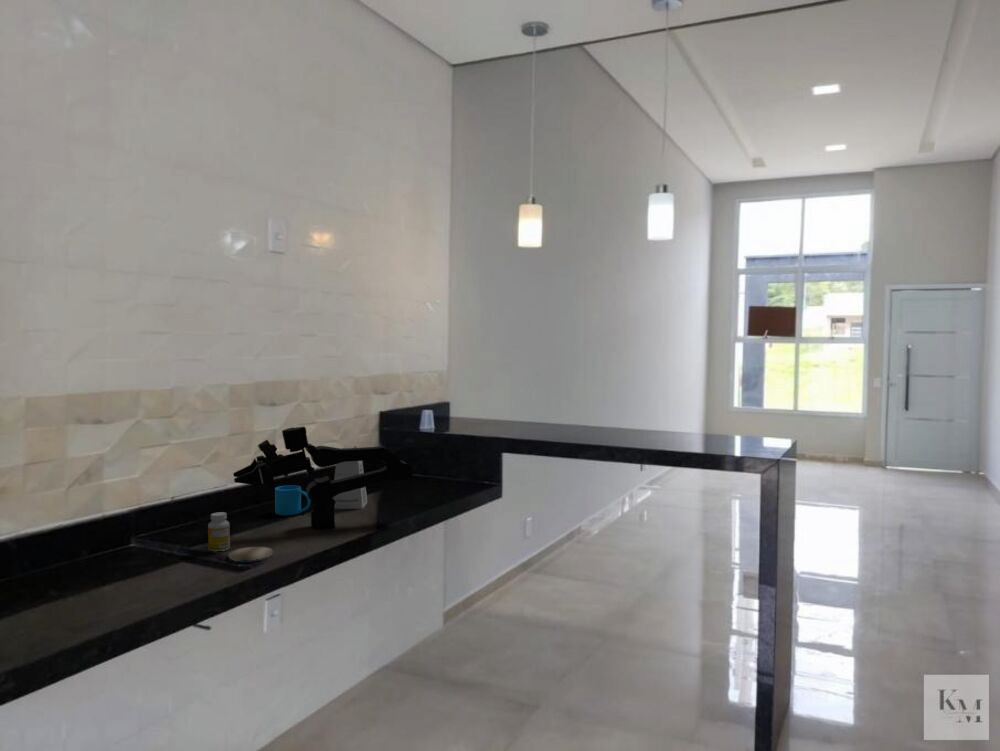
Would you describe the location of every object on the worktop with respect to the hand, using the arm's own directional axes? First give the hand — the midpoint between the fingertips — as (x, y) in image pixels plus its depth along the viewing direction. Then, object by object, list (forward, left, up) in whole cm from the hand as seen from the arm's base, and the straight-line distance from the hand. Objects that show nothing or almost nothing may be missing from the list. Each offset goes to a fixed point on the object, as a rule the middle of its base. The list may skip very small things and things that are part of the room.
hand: (233, 477), depth 210 cm
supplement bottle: (+2, +16, -17) cm, 23 cm away
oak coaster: (-7, +24, -17) cm, 30 cm away
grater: (-33, -31, -17) cm, 48 cm away
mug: (-15, -24, -17) cm, 33 cm away
